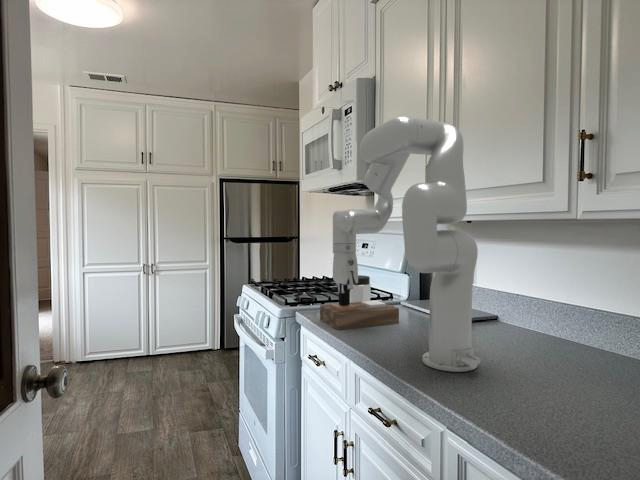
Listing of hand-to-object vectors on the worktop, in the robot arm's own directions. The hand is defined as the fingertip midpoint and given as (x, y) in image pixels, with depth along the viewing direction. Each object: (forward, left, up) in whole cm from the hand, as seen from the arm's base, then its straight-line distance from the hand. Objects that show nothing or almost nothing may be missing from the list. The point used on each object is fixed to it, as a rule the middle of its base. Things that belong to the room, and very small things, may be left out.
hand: (344, 304), depth 139 cm
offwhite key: (0, -11, -4) cm, 12 cm away
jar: (+19, -15, -6) cm, 25 cm away
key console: (0, -5, -6) cm, 8 cm away
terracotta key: (0, 0, -4) cm, 4 cm away
